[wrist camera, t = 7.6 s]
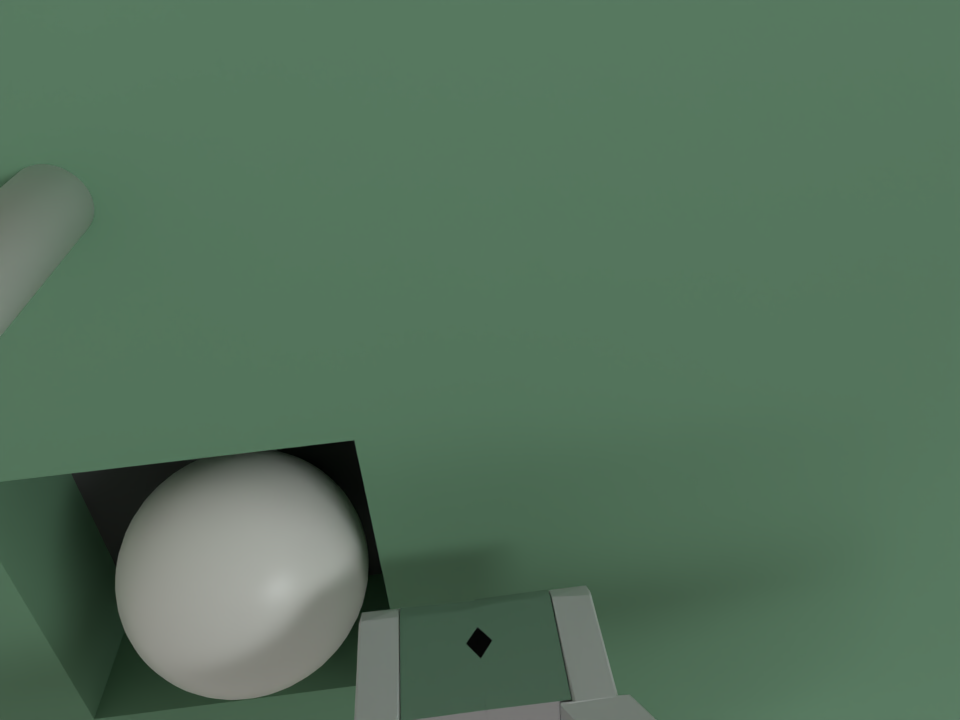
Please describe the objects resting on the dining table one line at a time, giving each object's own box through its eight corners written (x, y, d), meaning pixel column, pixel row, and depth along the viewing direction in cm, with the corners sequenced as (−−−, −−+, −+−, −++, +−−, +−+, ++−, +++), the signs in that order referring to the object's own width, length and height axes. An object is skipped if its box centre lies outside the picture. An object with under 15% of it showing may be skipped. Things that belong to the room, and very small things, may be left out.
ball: (393, 424, 12) (242, 616, 9) (421, 589, 14) (306, 788, 11) (198, 383, 13) (14, 541, 10) (250, 540, 15) (108, 707, 12)
